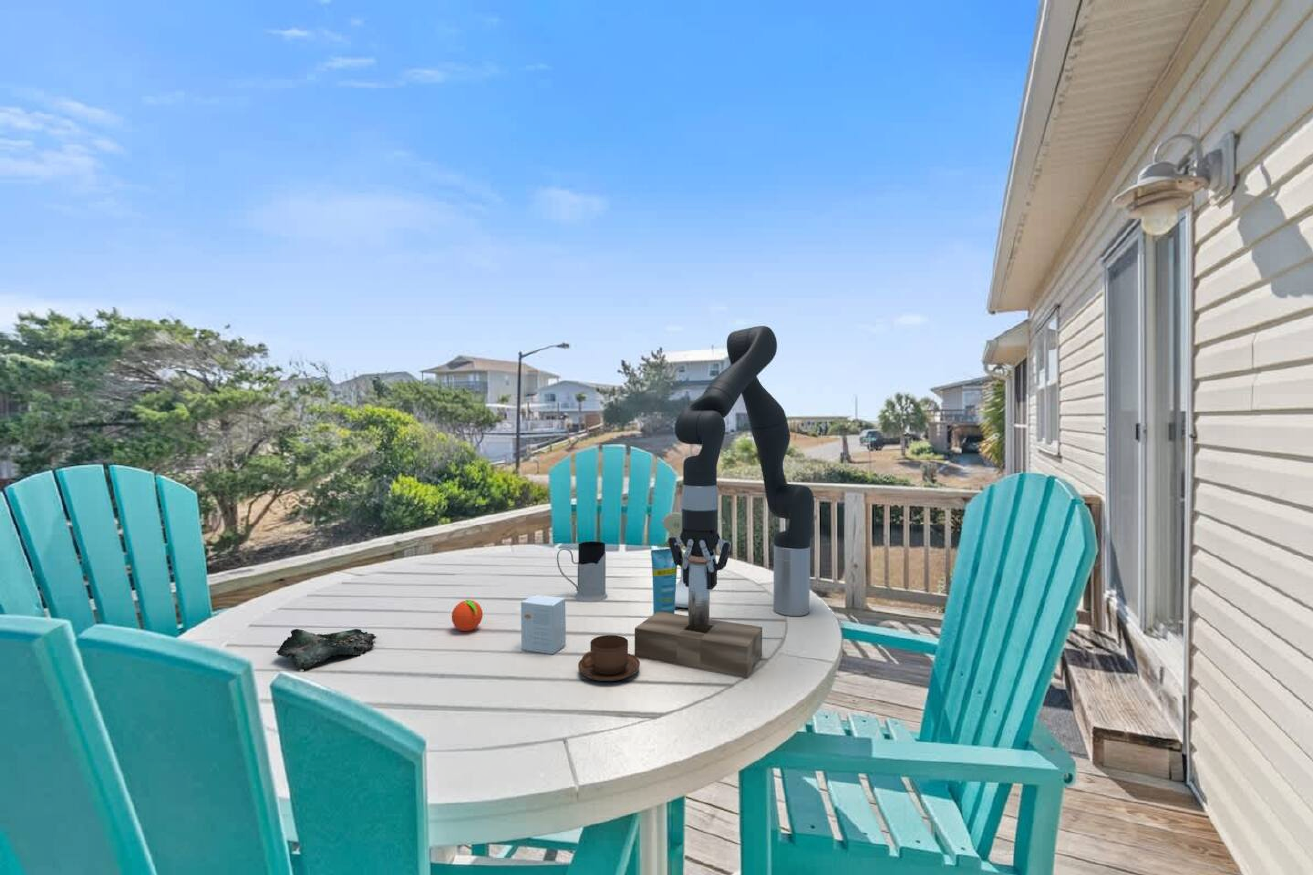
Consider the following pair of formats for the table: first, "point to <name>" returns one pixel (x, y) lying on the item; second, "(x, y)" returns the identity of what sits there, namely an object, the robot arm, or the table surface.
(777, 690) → the table surface
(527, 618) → the small box
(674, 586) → the tube
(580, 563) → the glass holder
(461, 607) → the clementine
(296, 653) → the decorative rock
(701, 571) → the plug
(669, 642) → the block
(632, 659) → the cup and saucer
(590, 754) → the table surface
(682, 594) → the flower in vase
